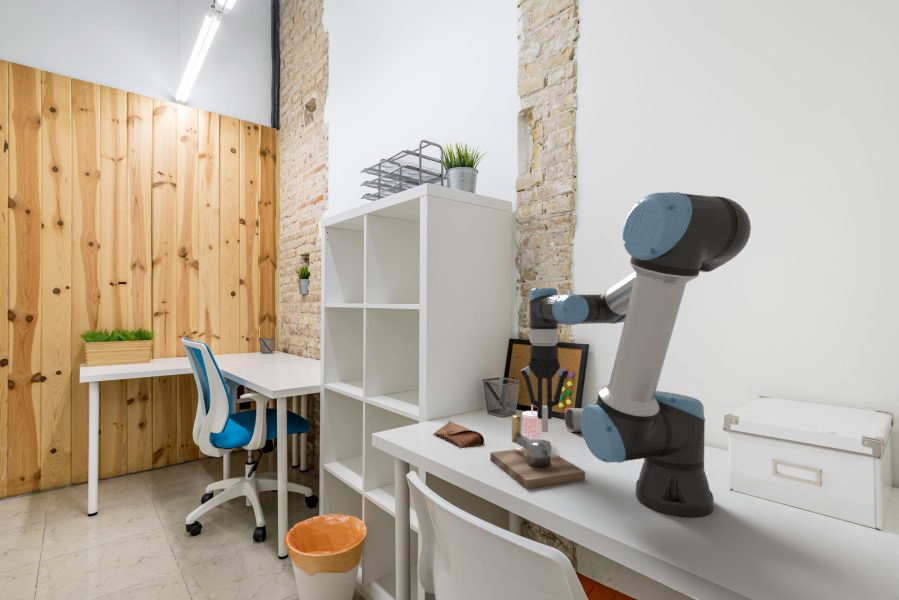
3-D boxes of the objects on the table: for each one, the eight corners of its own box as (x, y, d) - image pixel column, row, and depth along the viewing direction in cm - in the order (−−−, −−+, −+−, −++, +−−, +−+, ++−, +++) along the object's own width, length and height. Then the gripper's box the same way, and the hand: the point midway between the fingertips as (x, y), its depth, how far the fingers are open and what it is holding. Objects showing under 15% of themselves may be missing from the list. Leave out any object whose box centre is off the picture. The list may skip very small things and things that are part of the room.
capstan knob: (556, 465, 113) (556, 428, 112) (535, 468, 110) (535, 431, 110) (523, 446, 127) (523, 413, 127) (504, 449, 124) (504, 416, 124)
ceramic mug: (597, 433, 147) (597, 409, 147) (575, 435, 145) (574, 411, 145) (581, 425, 157) (580, 402, 158) (559, 426, 156) (559, 404, 156)
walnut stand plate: (585, 479, 109) (585, 470, 109) (526, 488, 104) (526, 478, 104) (540, 452, 129) (540, 444, 129) (489, 459, 123) (489, 450, 123)
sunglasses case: (429, 434, 146) (437, 414, 148) (444, 441, 150) (453, 422, 152) (462, 449, 131) (471, 427, 133) (478, 457, 135) (487, 436, 137)
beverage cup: (535, 438, 141) (535, 394, 141) (546, 444, 136) (546, 398, 136) (518, 441, 139) (518, 395, 139) (528, 447, 133) (528, 399, 133)
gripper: (565, 343, 127) (566, 427, 127) (519, 343, 128) (519, 426, 128) (570, 345, 119) (571, 435, 119) (520, 345, 121) (521, 434, 120)
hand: (544, 430), depth 123 cm, fingers closed
